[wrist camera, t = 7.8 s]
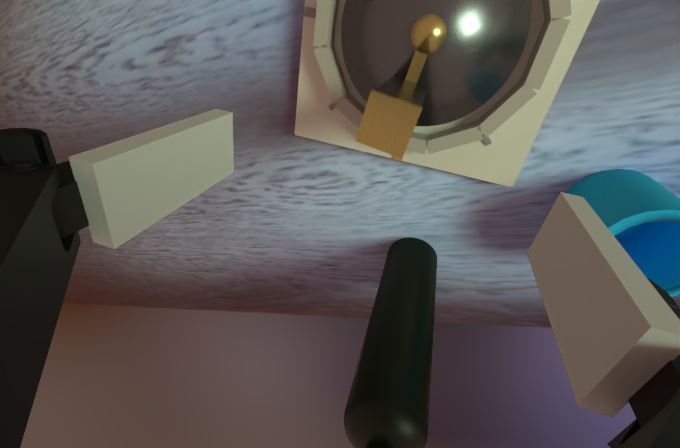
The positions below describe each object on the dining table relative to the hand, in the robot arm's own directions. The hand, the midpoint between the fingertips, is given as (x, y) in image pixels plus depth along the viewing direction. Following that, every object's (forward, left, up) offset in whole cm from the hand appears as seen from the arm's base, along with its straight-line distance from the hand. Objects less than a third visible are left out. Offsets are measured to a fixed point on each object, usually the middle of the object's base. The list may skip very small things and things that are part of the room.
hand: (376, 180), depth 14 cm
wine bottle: (-4, +18, -22) cm, 28 cm away
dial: (0, -5, -19) cm, 20 cm away
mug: (-22, +6, -22) cm, 31 cm away
